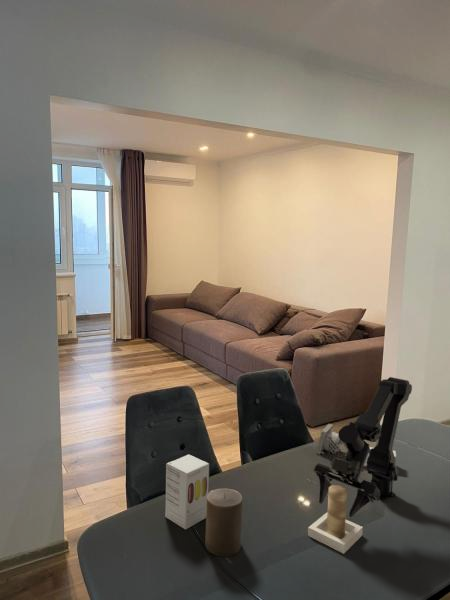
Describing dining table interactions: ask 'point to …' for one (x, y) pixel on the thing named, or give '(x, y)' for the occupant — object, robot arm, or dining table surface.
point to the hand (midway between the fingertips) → (334, 509)
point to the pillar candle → (223, 522)
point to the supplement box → (186, 490)
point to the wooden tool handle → (336, 511)
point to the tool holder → (342, 545)
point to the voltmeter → (329, 441)
